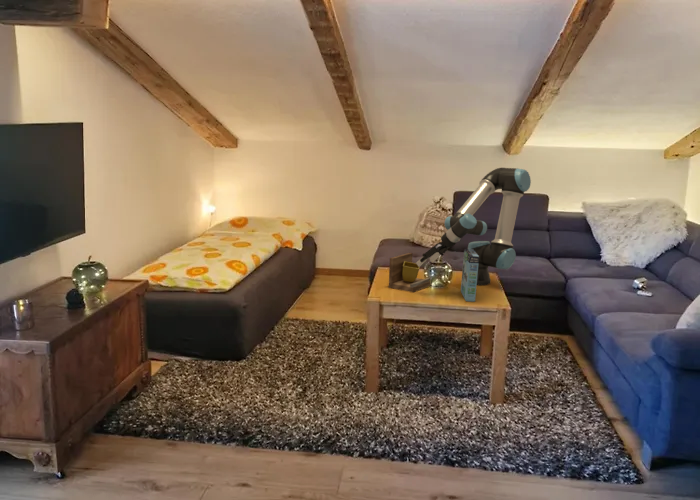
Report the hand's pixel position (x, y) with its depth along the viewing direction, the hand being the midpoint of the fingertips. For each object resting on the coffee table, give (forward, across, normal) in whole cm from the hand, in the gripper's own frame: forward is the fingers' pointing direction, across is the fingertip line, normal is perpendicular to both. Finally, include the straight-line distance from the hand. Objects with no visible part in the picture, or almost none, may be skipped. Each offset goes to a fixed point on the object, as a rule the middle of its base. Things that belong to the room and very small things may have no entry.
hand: (424, 262), depth 322 cm
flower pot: (+14, 0, -2) cm, 14 cm away
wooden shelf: (+15, 0, -5) cm, 16 cm away
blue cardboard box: (-7, +2, -28) cm, 29 cm away
